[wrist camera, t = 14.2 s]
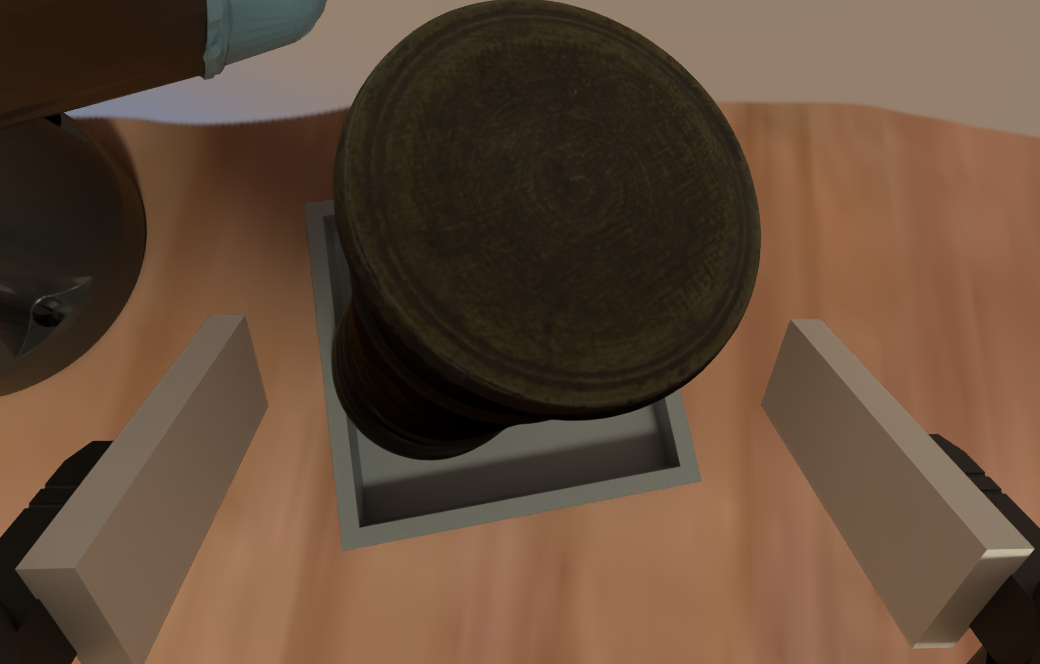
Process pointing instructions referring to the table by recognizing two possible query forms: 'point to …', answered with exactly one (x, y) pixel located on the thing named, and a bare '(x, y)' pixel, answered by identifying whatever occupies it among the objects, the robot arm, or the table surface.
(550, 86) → the container
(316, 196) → the table surface
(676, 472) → the tray
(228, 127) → the table surface
